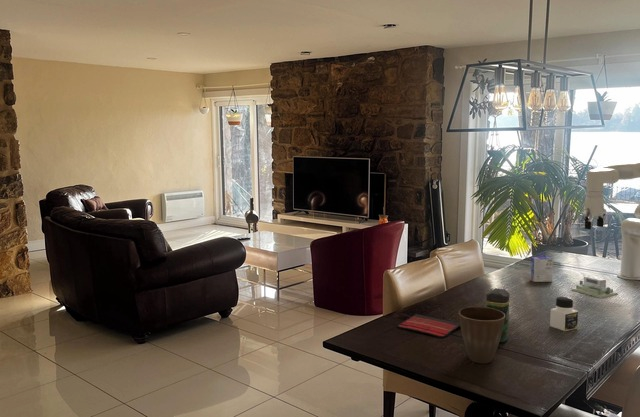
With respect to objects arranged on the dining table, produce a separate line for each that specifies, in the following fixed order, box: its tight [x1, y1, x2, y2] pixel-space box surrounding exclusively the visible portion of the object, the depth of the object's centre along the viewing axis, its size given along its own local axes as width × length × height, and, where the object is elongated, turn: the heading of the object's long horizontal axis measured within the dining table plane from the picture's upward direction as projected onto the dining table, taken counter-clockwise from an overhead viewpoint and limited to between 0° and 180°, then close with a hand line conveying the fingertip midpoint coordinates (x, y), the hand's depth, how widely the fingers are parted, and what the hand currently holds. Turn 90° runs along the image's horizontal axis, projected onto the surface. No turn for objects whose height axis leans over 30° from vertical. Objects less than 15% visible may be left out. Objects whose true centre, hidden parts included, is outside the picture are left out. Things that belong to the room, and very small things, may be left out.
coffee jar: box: [485, 288, 511, 343], centre depth 206 cm, size 10×8×19 cm
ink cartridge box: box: [530, 252, 554, 283], centre depth 290 cm, size 10×6×14 cm, turn 89°
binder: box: [397, 313, 461, 339], centre depth 220 cm, size 16×2×21 cm
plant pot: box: [458, 306, 505, 364], centre depth 187 cm, size 15×15×16 cm
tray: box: [570, 280, 619, 299], centre depth 268 cm, size 12×16×4 cm
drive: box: [583, 275, 607, 291], centre depth 267 cm, size 4×9×6 cm, turn 26°
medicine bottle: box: [549, 295, 579, 332], centre depth 218 cm, size 7×7×12 cm
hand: (594, 227), depth 283 cm, fingers open, 9 cm apart
